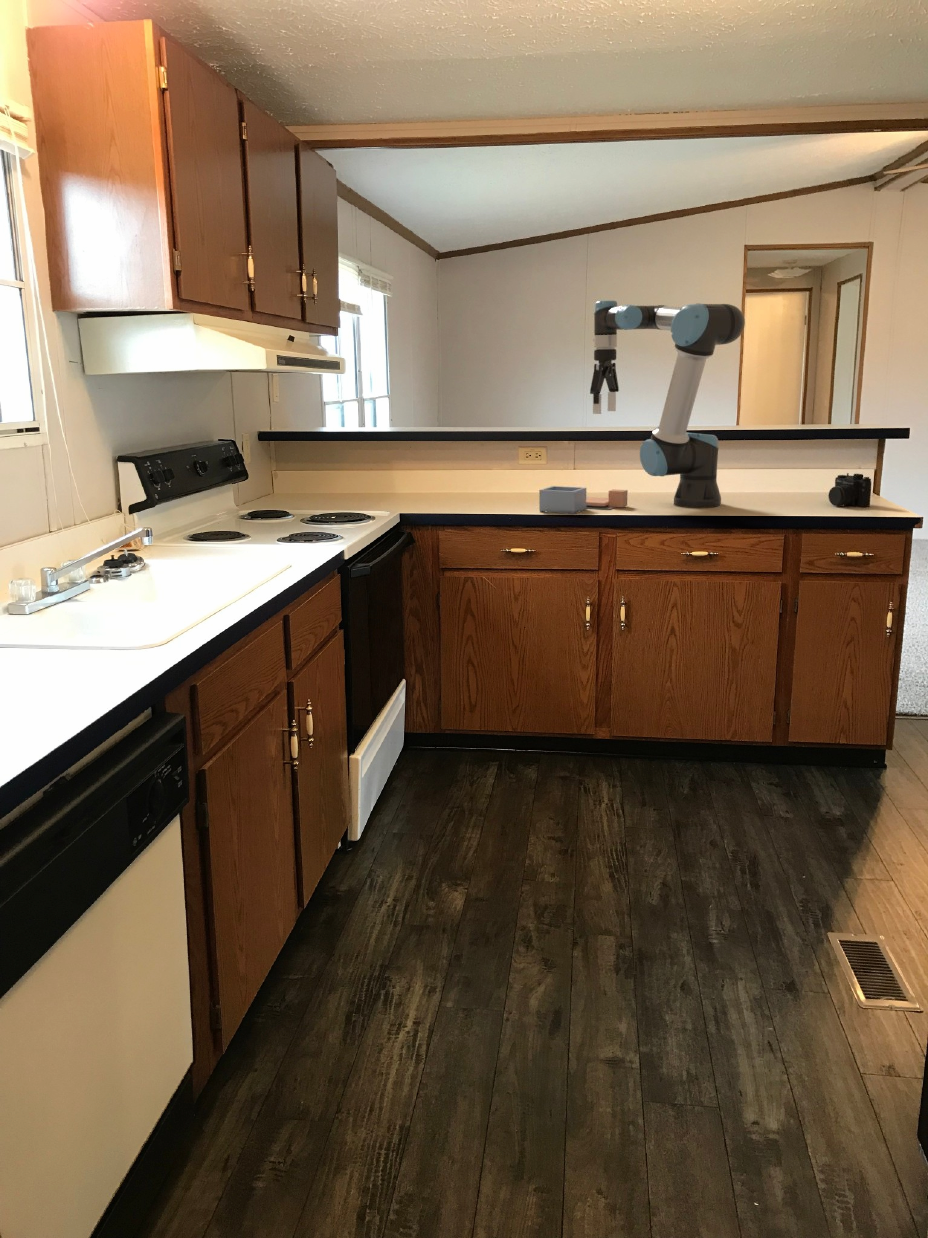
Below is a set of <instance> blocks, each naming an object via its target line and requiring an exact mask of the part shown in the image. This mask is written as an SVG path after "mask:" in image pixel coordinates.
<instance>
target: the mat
mask: <svg viewBox="0 0 928 1238" xmlns="http://www.w3.org/2000/svg"><path fill="white" fill-rule="evenodd" d="M616 508H617V507H608V505H607V506H602V507H595V506H586V510H587V509H588V510H591V509H592V510H602V511H603V510H604V511H605V510H607V511H610V510H611V511H612V510H613V509H616Z"/></svg>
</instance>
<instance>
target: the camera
mask: <svg viewBox="0 0 928 1238" xmlns="http://www.w3.org/2000/svg"><path fill="white" fill-rule="evenodd" d="M849 474H850V473H848V472H847V473H846V475H845V474H838V475H837V477H835V480H834V486H833V487H831V488H830V490H829V491H828V495H827V496H828V501H829V502H830V504H831V505H832V506H835V507H842V506H847V507H850V506H851V507H858V508H867V509H868V508H870V506H871V496H872V495H871V494H872V479H871V478H870V477H869V476H865V477H864V474H863V473H853V475H849Z"/></svg>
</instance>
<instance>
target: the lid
mask: <svg viewBox="0 0 928 1238" xmlns="http://www.w3.org/2000/svg"><path fill="white" fill-rule="evenodd" d="M628 493H629V492H628V489H610V490H608V497H598V496H596V497H594V496H586V506H595V507H602V506H607V505H608V507H616V508H625V507H628Z"/></svg>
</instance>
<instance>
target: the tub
mask: <svg viewBox="0 0 928 1238" xmlns="http://www.w3.org/2000/svg"><path fill="white" fill-rule="evenodd" d="M538 491H539V493H538V494H539V495H538V498H539V499H538V500H539V501H538V504H539V509H538V510H539V511H547V512H546V513H550V512H558V513H557V514H566V513H570V514H571V515H575V514H578V513H580V512H579V511H581V512H583V511H586V510H587V509H586V497H587V487H581V486H578V487H577V486H560V485H558V486H556V485H551V486H548V487H544V488H541V489H539V490H538ZM585 509H586V510H585ZM539 511H538V512H539ZM577 512H578V513H577Z"/></svg>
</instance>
